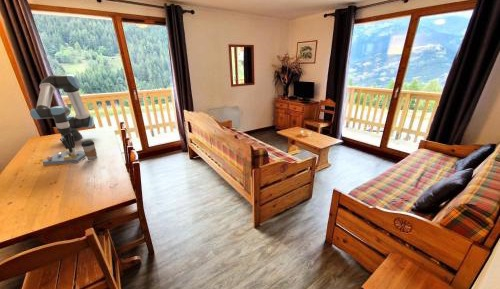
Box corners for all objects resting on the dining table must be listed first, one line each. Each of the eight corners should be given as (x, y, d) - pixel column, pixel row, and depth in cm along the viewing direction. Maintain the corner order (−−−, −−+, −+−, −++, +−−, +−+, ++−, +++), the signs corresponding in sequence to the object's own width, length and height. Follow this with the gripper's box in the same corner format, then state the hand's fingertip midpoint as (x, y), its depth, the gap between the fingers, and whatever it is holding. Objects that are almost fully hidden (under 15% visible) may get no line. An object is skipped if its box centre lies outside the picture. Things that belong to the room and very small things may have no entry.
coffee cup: (92, 161, 165) (86, 144, 159) (83, 160, 166) (77, 143, 160) (101, 157, 172) (96, 140, 166) (92, 156, 174) (87, 139, 168)
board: (58, 155, 175) (57, 152, 174) (89, 153, 179) (89, 150, 178) (43, 164, 160) (42, 161, 159) (78, 162, 163) (77, 159, 162)
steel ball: (59, 155, 169) (57, 152, 168) (63, 155, 169) (62, 151, 168) (56, 157, 166) (55, 153, 165) (60, 157, 166) (59, 153, 165)
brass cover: (69, 157, 166) (67, 153, 164) (77, 157, 166) (76, 152, 165) (64, 160, 160) (62, 156, 159) (73, 160, 161) (71, 155, 159)
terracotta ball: (49, 159, 163) (48, 155, 162) (54, 159, 163) (52, 155, 162) (46, 161, 160) (45, 157, 159) (51, 160, 161) (49, 157, 159)
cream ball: (68, 152, 175) (66, 149, 174) (72, 152, 175) (71, 148, 174) (65, 154, 172) (64, 150, 171) (69, 153, 172) (68, 150, 171)
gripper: (63, 125, 163) (73, 152, 172) (52, 130, 151) (63, 159, 160) (74, 124, 164) (83, 151, 173) (63, 129, 152) (73, 158, 161)
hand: (73, 155), depth 166 cm, fingers closed
